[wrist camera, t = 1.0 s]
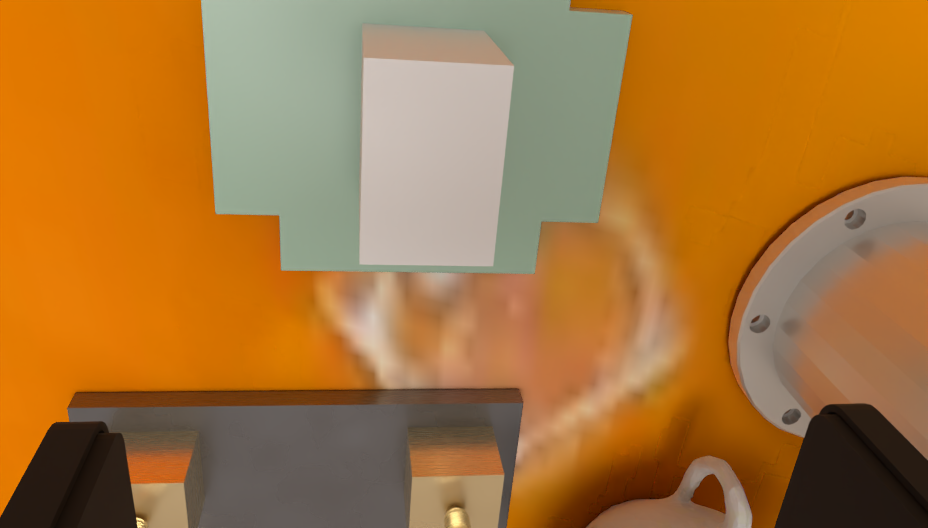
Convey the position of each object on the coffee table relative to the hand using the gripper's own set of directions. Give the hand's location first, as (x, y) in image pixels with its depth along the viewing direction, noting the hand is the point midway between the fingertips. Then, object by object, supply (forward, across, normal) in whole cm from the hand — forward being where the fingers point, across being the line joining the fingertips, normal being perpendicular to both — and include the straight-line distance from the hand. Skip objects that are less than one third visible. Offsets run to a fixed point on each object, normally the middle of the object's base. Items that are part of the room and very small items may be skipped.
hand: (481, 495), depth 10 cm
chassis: (+19, +4, +20) cm, 28 cm away
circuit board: (+19, -1, 0) cm, 19 cm away
